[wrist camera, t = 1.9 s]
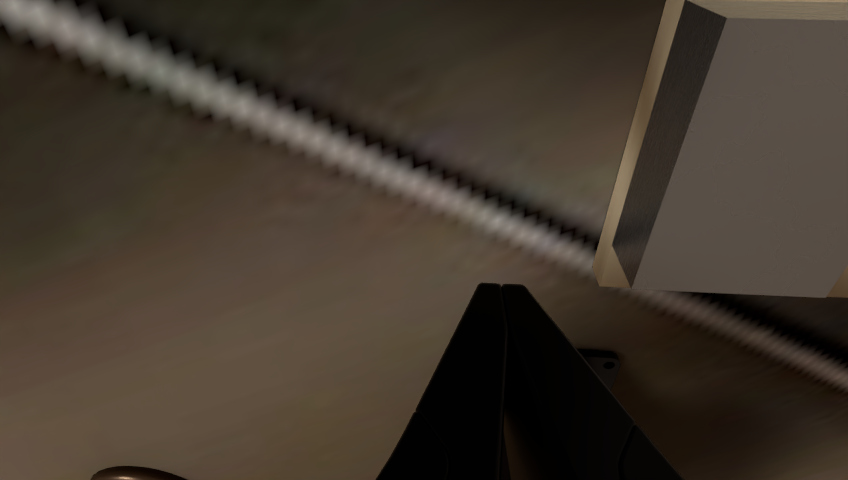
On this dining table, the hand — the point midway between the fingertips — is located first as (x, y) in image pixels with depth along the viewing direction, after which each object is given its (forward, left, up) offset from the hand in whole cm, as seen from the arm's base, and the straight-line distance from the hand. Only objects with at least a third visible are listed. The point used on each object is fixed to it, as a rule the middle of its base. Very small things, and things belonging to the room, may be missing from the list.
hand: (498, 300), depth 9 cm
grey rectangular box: (0, -8, -7) cm, 11 cm away
